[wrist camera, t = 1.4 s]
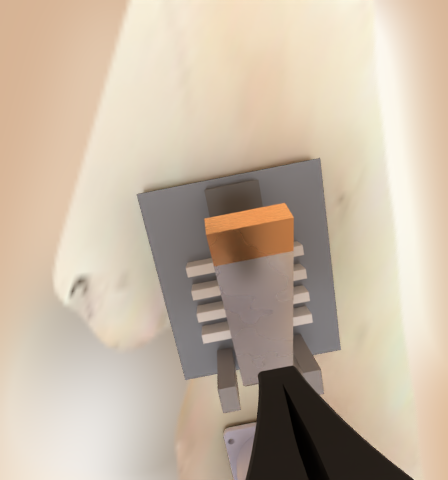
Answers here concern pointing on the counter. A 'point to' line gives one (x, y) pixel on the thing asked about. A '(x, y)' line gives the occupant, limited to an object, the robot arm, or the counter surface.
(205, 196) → the heatsink base
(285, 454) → the robot arm
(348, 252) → the counter surface
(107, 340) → the counter surface
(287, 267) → the orange-ended grey bar
